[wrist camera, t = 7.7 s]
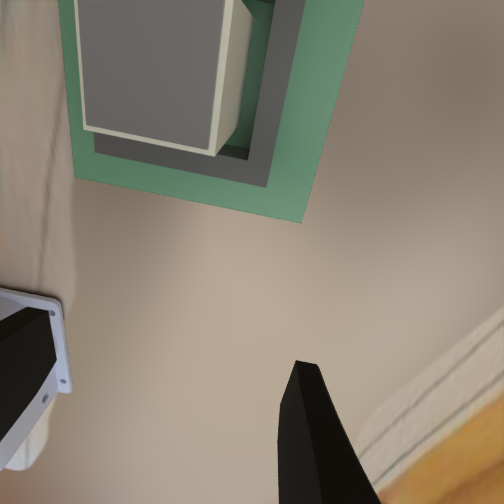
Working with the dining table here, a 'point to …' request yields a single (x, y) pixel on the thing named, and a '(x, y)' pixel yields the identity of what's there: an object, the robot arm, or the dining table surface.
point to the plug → (164, 69)
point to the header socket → (251, 121)
